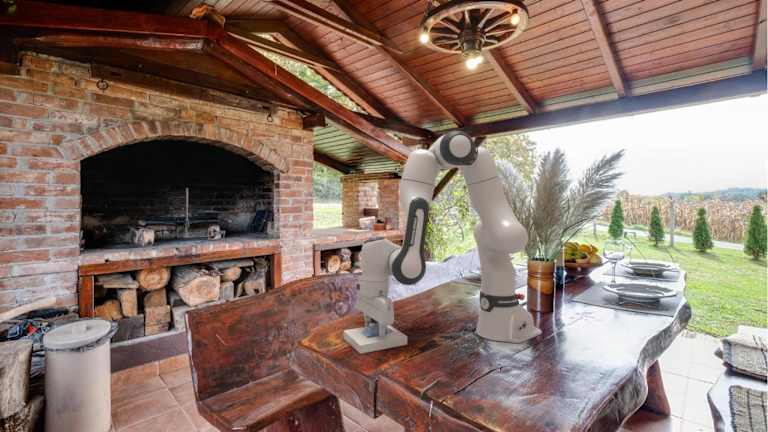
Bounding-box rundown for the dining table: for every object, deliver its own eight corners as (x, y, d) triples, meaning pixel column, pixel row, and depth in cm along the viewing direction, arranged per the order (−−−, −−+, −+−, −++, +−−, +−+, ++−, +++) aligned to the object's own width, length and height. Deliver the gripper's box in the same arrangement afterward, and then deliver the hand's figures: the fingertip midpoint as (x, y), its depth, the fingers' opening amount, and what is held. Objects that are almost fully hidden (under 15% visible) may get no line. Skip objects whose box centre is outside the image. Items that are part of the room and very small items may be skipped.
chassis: (386, 330, 124) (386, 322, 124) (407, 344, 111) (407, 335, 111) (343, 338, 117) (343, 329, 117) (360, 353, 104) (360, 344, 104)
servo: (384, 336, 118) (384, 319, 118) (390, 340, 114) (390, 322, 114) (361, 341, 114) (361, 323, 114) (366, 345, 111) (366, 326, 110)
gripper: (399, 294, 106) (399, 340, 106) (370, 281, 124) (370, 320, 124) (380, 296, 103) (380, 343, 103) (353, 283, 121) (353, 323, 121)
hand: (374, 330), depth 114 cm, fingers open, 8 cm apart
